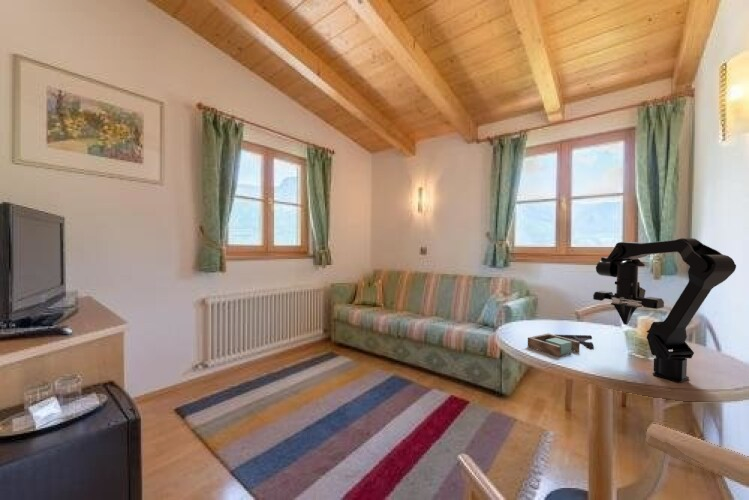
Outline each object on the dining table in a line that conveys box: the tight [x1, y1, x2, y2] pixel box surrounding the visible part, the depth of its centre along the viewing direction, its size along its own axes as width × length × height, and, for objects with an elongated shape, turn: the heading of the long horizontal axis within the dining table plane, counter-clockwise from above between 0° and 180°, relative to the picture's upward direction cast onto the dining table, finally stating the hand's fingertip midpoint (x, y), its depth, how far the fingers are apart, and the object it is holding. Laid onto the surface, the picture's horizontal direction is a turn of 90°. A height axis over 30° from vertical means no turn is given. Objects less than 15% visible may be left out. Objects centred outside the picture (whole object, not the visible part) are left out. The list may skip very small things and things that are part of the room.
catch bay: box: [527, 332, 581, 358], centre depth 123 cm, size 12×12×4 cm
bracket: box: [555, 334, 595, 350], centre depth 131 cm, size 14×15×3 cm
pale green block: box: [546, 338, 572, 356], centre depth 121 cm, size 6×6×4 cm
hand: (625, 324), depth 113 cm, fingers closed
